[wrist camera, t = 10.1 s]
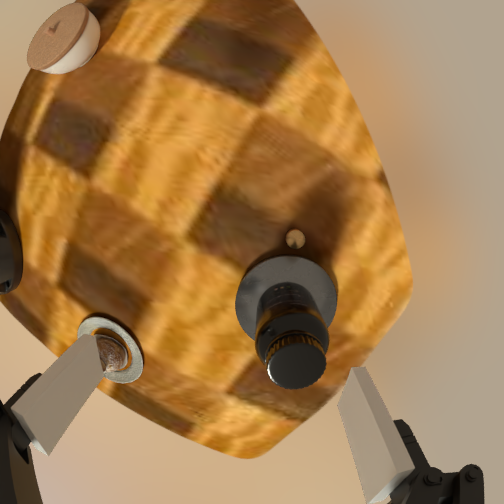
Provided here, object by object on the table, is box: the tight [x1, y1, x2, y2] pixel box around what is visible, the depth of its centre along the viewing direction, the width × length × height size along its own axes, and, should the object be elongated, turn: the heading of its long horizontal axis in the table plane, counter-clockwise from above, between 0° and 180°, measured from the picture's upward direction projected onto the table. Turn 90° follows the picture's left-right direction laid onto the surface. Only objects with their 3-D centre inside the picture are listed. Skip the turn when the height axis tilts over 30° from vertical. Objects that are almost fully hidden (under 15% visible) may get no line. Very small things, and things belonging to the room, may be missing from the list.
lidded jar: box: [27, 3, 100, 74], centre depth 21 cm, size 11×11×9 cm
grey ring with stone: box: [78, 317, 143, 383], centre depth 34 cm, size 12×12×5 cm
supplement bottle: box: [255, 282, 330, 389], centre depth 26 cm, size 7×7×12 cm
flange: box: [235, 228, 337, 340], centre depth 32 cm, size 12×18×2 cm, turn 175°
